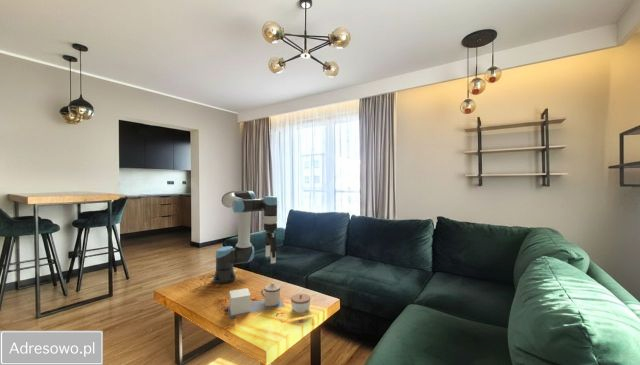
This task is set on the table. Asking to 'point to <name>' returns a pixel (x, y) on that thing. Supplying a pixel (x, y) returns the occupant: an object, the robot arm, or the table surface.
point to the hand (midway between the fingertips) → (270, 259)
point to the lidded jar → (300, 302)
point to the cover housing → (240, 301)
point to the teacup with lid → (271, 294)
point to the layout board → (257, 307)
